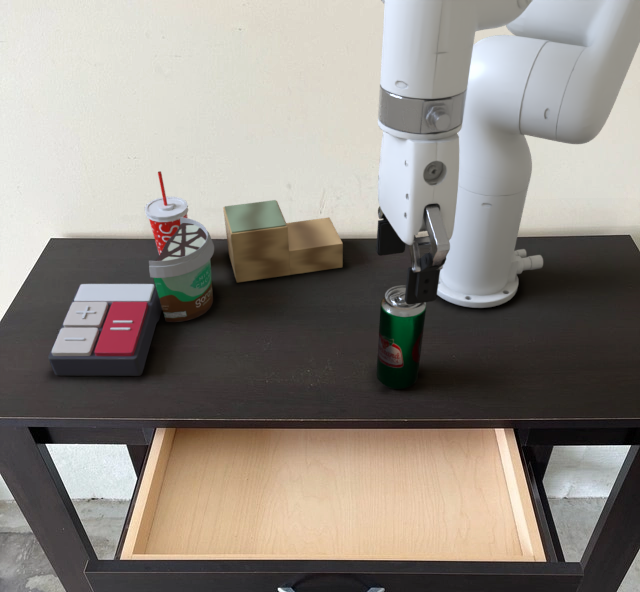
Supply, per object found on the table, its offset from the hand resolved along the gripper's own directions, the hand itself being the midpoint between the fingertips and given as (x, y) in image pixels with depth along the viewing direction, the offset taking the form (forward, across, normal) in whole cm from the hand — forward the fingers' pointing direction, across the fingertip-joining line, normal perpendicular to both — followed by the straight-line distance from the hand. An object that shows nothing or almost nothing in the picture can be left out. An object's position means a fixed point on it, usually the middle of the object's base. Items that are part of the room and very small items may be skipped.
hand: (404, 276), depth 70 cm
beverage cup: (+15, +34, +24) cm, 44 cm away
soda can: (+15, 0, 0) cm, 15 cm away
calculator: (+15, +17, +34) cm, 41 cm away
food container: (+15, +22, +22) cm, 34 cm away
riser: (+14, +30, +8) cm, 34 cm away
